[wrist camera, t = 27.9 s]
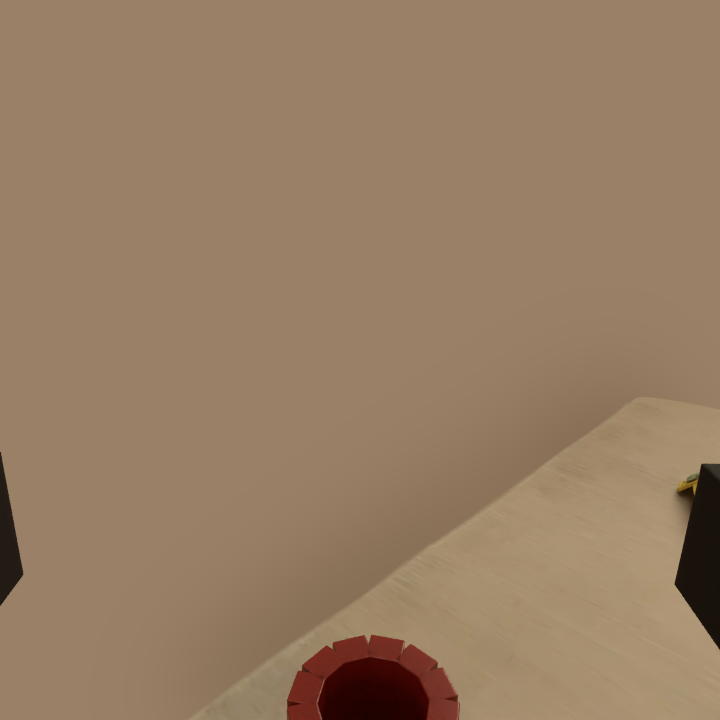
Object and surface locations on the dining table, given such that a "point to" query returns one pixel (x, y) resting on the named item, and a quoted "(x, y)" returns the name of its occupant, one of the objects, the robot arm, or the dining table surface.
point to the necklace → (689, 483)
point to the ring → (372, 684)
